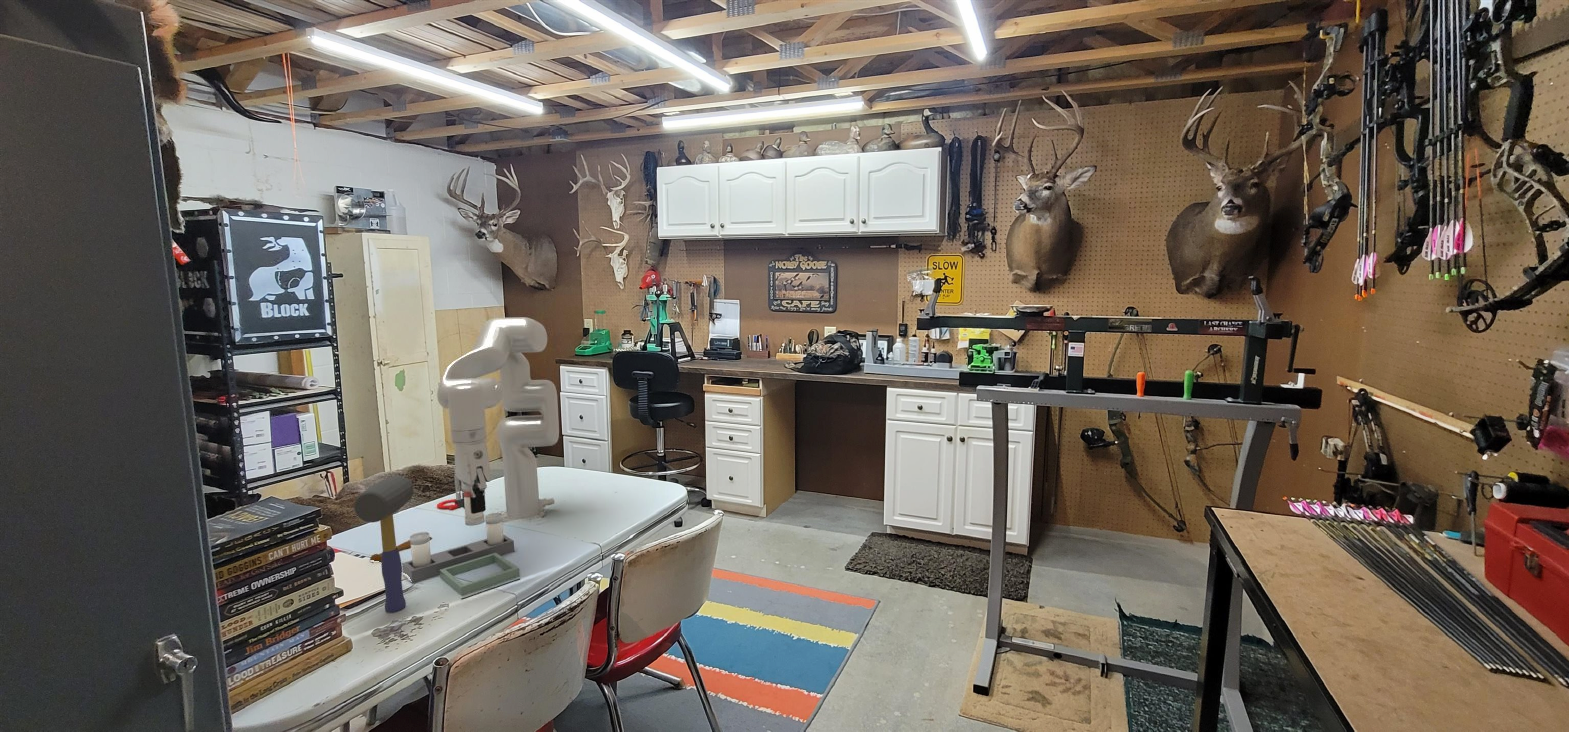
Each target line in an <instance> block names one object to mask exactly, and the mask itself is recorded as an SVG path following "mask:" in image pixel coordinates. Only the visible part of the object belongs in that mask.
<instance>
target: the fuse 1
mask: <svg viewBox="0 0 1569 732" xmlns="http://www.w3.org/2000/svg"><path fill="white" fill-rule="evenodd" d="M430 537H431V536H430V533H429V532H428V531H423V532H422V531H420V532H416V533H413V534H411V535H409V540H410V544H411V548H410V550H411V552H410V553H411V560H412V563H413V568H414V569H415V568H419V567H422V566H426V565H429V564H431V555H432V553H431V546H430V545H431V543H430V541H431V540H430Z"/></svg>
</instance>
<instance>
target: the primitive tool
mask: <svg viewBox="0 0 1569 732" xmlns="http://www.w3.org/2000/svg"><path fill="white" fill-rule="evenodd" d="M429 537H430V541H431V540H432V539H433V537H432V536H429ZM396 547H397V549H398V551H399V552H403V551H406V550H411V544H410V539H409V540H406V541H405V542H402V543H400V544H399V545H396ZM370 560H374V561H379V562H381V563H382V552H381V553H374V554H372V555H371V556H370V559H369V561H370Z"/></svg>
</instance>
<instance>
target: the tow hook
mask: <svg viewBox="0 0 1569 732" xmlns="http://www.w3.org/2000/svg"><path fill="white" fill-rule="evenodd" d="M453 471H454V476H453V477H454V486H455V498H451V499H447V500H443V501H441V502H438V503H437V504H436V508H437V509H439V510H441V509H442V510H447V509H448V510H449V511H453V510H456V509H461V508H463V499H462V491H461V487H460V486H461V485H460V480H459V479H458V478H457V476H456V471H455V468H454V469H453ZM450 503H451V504H450ZM452 503H454V504H452Z"/></svg>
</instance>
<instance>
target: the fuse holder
mask: <svg viewBox="0 0 1569 732" xmlns="http://www.w3.org/2000/svg"><path fill="white" fill-rule="evenodd" d="M503 536H504V542H503V543H499V544H496V545H493V546H489V545H488V544H487V538H485V539H480V540H478V541H474V542H470V543H468V544H464V545H461V546H457V547H453V548H449V549H446V550H443V551H440V552H439V551H438V552H437V553H436V552H435V553H433V554H432V553H431V564H429V565H426V566H422V567H419V568H415V569H414V568H413V563H412V559H411V560H408V561H406V562H405V561H404V562H401V564H402V574H403V573H405V574H407V575H408V576H409V577H410V579H411V581H412V583H411V584H415V583H418V582H421V581H425V580H428V579H431V578H432V579H433V578H434V577H437V576H440V570H441V569H444V568H447V567H451V566H454V565H457V564H460V563H464V562H467V561H470V560H473V559H477V558H480V557H483V556H486V555H490V554H493V553H497V554H499V555H500V556H502V557H503V556H505V555H509V554H512V553H514V552H515V541H514V539H512V538H510V537H508V536H507V535H505V534H504V533H503Z"/></svg>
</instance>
